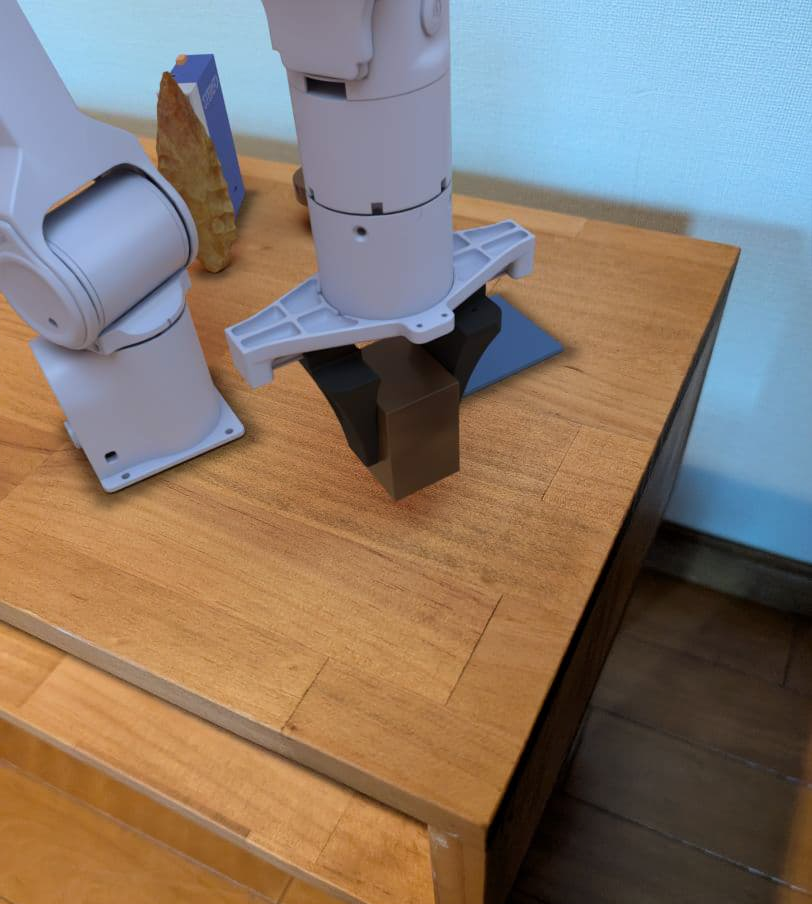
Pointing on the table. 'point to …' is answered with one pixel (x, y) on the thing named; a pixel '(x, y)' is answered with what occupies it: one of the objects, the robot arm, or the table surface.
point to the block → (413, 417)
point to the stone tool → (194, 173)
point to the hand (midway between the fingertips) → (400, 436)
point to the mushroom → (299, 187)
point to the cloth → (511, 349)
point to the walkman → (211, 115)
